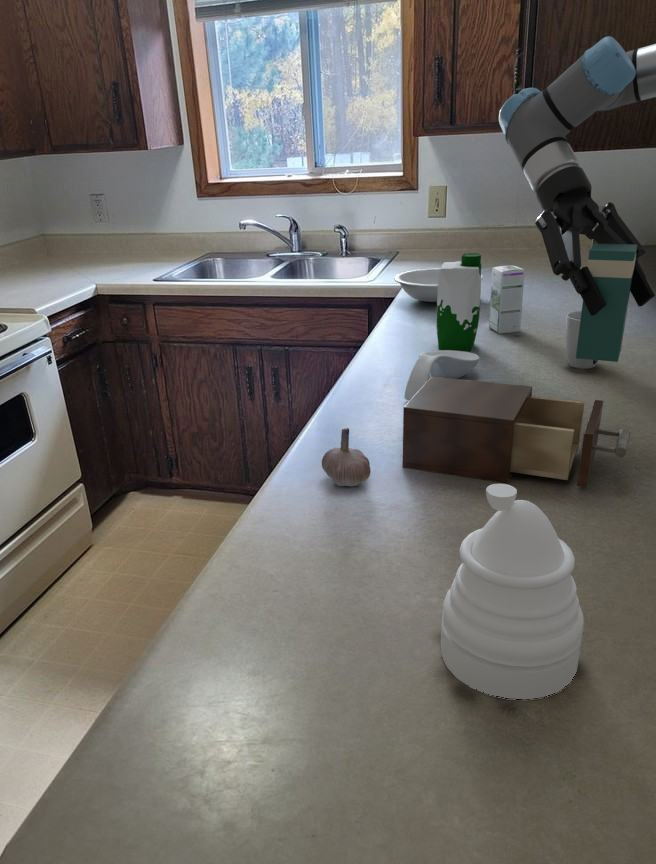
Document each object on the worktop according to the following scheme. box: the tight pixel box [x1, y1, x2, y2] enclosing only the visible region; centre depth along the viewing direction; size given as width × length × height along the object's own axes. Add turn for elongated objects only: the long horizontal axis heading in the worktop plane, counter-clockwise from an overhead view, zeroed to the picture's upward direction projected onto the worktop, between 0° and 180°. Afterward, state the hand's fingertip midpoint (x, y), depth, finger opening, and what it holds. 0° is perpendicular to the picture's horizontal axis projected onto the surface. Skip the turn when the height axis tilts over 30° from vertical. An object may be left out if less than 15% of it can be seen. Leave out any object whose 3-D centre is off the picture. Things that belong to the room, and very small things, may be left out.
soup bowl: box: [393, 267, 484, 303], centre depth 204 cm, size 24×24×7 cm
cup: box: [565, 310, 599, 369], centre depth 147 cm, size 8×8×10 cm
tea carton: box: [576, 243, 637, 363], centre depth 110 cm, size 6×6×16 cm
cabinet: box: [401, 376, 533, 484], centre depth 111 cm, size 16×15×10 cm
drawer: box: [510, 395, 631, 488], centre depth 106 cm, size 19×13×8 cm
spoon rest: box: [404, 349, 480, 401], centre depth 142 cm, size 24×12×7 cm, turn 152°
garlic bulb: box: [321, 427, 371, 487], centre depth 106 cm, size 8×7×8 cm
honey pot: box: [440, 483, 585, 701], centre depth 68 cm, size 13×13×18 cm
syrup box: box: [488, 265, 526, 334], centre depth 172 cm, size 6×6×14 cm
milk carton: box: [436, 252, 482, 353], centre depth 160 cm, size 9×9×20 cm
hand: (623, 305), depth 107 cm, fingers closed on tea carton, 9 cm apart
